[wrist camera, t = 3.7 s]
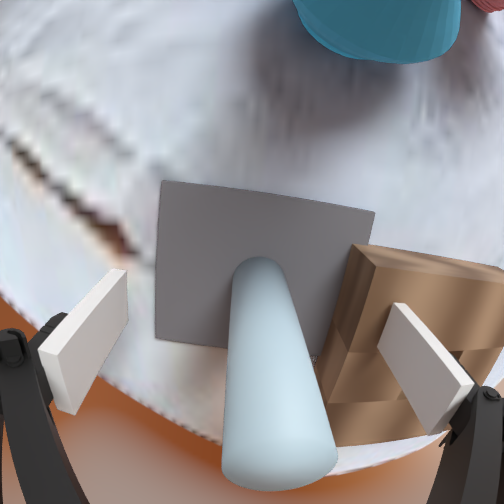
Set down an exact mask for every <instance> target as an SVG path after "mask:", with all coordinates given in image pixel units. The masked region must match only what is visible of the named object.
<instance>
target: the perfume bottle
mask: <svg viewBox="0 0 504 504" xmlns="http://www.w3.org/2000/svg"><path fill="white" fill-rule="evenodd" d="M292 1H293V3H294V5H295V7H296V8H297V11H298V15H299V18H300V20H301V22H302V24H303V25H304V27H305V28H306V30H307V31H308V32H309V33H310V34H311V35H312V36H313V37H314V38H315V40H316V41H318V42H319V43H321V44H322V45H323V46H325V47H326V48H328V49H330V50H331V51H333V52H335V53H337V54H340V55H343V56H345V57H349V58H354V59H363V60H374V61H378V62H385V63H396V64H409V63H418V62H423V61H428V60H431V59H434V58H436V57H439V56H441V55H442V54H444V53H445V52H446V51H448V50H449V49H450V48H451V46H452V45H453V43H454V42H455V41H456V38H457V35H458V32H459V29H460V15H461V0H292Z"/></svg>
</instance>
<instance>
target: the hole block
mask: <svg viewBox="0 0 504 504" xmlns="http://www.w3.org/2000/svg"><path fill="white" fill-rule="evenodd" d="M393 302H394V303H405V304H406V305H407V306H408V307H409V308H410V309H411V310H412V311H413V312H414V313H415V314H416V316H417V317H418V318H419V319H420V320H421V321H422V322H423V323H424V324H425V326H426V327H427V328H428V329H429V330H430V331H431V332H432V333H433V335H434V336H435V337H436V338H437V339H438V340H439V341H440V343H441V344H442V345H443V346H444V347H445V348H446V350H447V351H448V352H450V353H451V354H452V355H454V356H455V357H456V358H457V359H458V361H459V362H460V363H461V364H462V365H463V367H464V368H465V370H467V371H468V373H469V374H470V375H471V376H472V377H473V379H474V380H475V381H476V382H477V384H478V385H479V386H480V387H481V386H482V384H483V383H484V381H485V379H486V378H487V376H488V374H489V373H490V371H491V369H492V367H493V366H494V364H495V362H496V360H497V358H498V356H499V354H500V353H501V351H502V349H503V347H504V270H502V269H500V268H499V267H495V266H490V265H485V264H479V263H474V262H469V261H463V260H458V259H452V258H446V257H441V256H435V255H429V254H424V253H418V252H412V251H406V250H400V249H394V248H388V247H382V246H376V245H369V244H368V246H365V245H359V244H352V247H351V251H350V255H349V259H348V263H347V267H346V271H345V275H344V279H343V282H342V286H341V290H340V293H339V297H338V300H337V304H336V307H335V311H334V314H333V317H332V321H331V324H330V327H329V331H328V334H327V337H326V340H325V343H324V346H323V349H322V352H321V356H318V358H317V361H316V364H315V367H314V373H315V376H316V380H317V383H318V386H319V390H320V393H321V397H322V400H323V404H324V407H325V410H326V414H327V417H328V421H329V424H330V428H331V431H332V435H333V439H334V442H335V446H336V447H344V446H356V445H366V444H374V443H382V442H389V441H396V440H402V439H408V438H414V437H419V436H424V435H427V434H426V432H425V430H424V428H423V426H422V424H421V423H420V421H419V419H418V417H417V415H416V413H415V412H414V410H413V408H412V406H411V404H410V403H409V401H408V399H407V397H406V396H405V394H404V392H403V390H402V388H401V387H400V385H399V383H398V382H397V380H396V378H395V376H394V375H393V373H392V371H391V370H390V368H389V366H388V364H387V363H386V361H385V359H384V358H383V356H382V354H381V353H380V351H379V349H378V348H377V345H378V343H379V340H380V338H381V335H382V333H383V330H384V327H385V325H386V322H387V319H388V317H389V314H390V311H391V308H392V305H393ZM450 429H452V427H451V426H450V424H449V423H448V424H447V426H446V427H445V429H444V430H443V431H446V430H450Z"/></svg>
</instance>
